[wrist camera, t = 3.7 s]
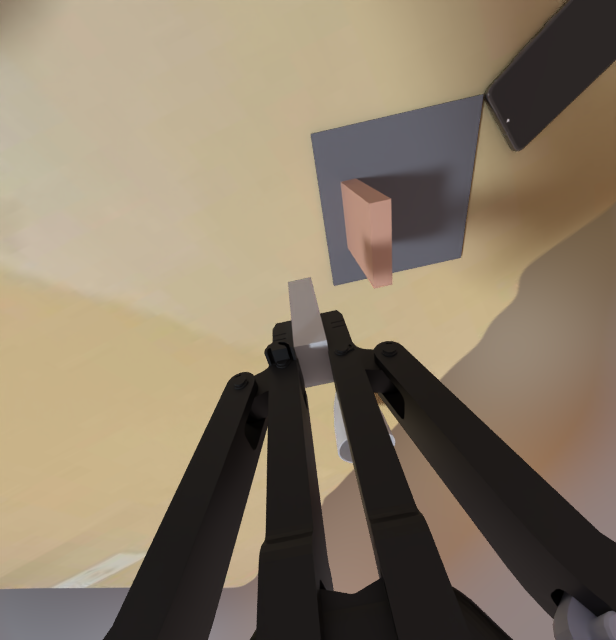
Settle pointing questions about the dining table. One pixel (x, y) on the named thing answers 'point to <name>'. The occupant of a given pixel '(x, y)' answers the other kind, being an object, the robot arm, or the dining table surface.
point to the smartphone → (553, 69)
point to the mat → (403, 181)
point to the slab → (369, 230)
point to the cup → (341, 433)
